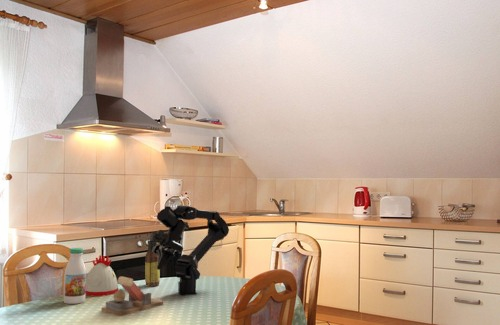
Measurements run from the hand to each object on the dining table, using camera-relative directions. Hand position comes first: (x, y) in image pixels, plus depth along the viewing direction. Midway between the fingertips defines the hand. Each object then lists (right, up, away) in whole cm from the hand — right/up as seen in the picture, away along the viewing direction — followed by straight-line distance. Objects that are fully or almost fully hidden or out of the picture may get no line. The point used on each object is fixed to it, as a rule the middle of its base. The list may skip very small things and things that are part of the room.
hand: (158, 269), depth 179 cm
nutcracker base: (-7, -12, -10) cm, 17 cm away
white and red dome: (-26, -12, +12) cm, 32 cm away
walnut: (-11, -8, -15) cm, 20 cm away
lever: (-5, -9, -8) cm, 13 cm away
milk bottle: (-31, -12, -4) cm, 33 cm away
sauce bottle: (-8, -13, +26) cm, 31 cm away
